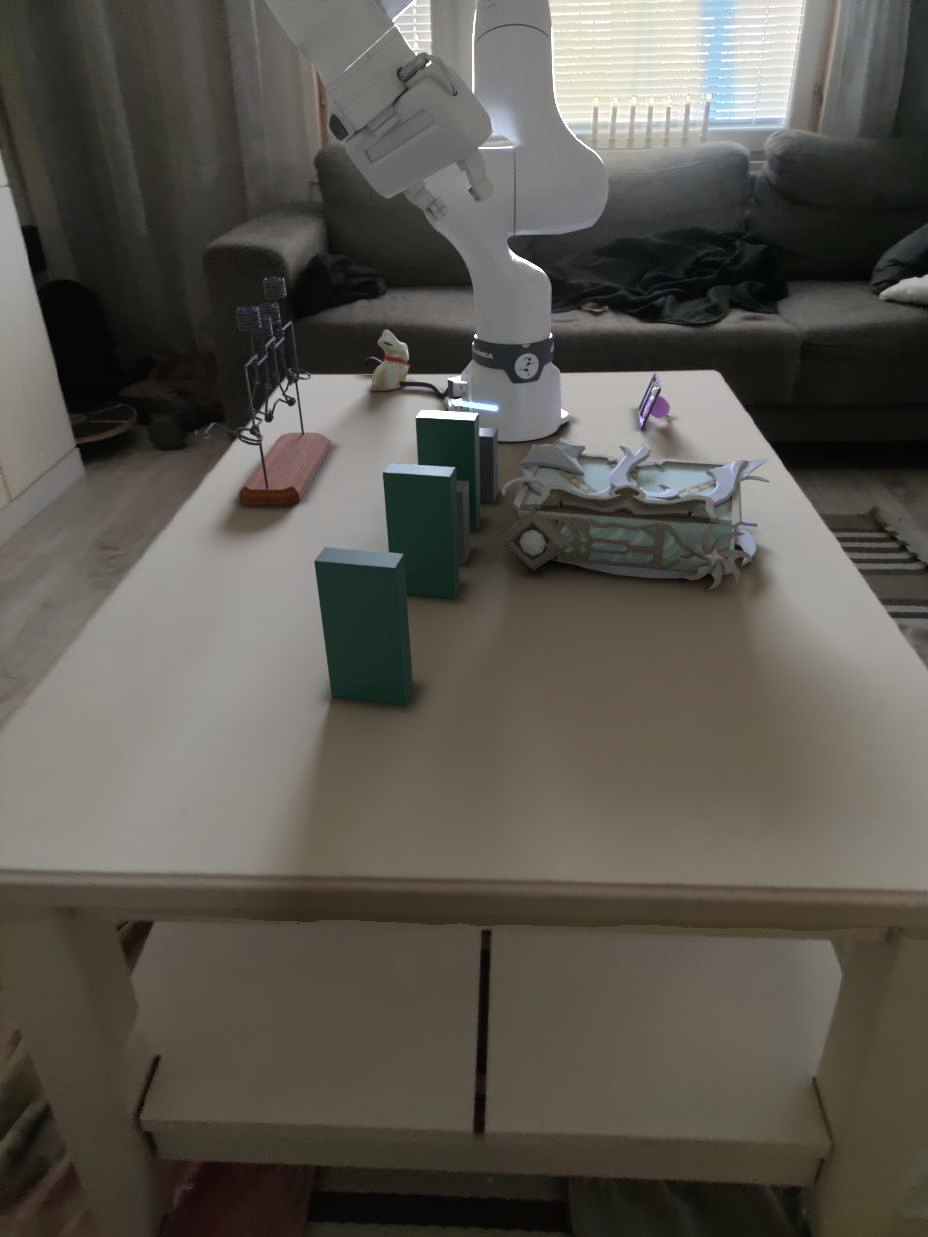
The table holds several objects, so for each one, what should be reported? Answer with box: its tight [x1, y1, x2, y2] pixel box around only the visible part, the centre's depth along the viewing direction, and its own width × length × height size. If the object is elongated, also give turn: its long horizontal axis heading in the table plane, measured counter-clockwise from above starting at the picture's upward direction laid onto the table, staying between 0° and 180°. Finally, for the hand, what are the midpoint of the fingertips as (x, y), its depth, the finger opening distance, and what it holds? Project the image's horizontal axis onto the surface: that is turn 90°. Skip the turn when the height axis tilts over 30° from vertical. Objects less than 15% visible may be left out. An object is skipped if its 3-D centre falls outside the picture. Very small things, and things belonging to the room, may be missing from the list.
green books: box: [313, 462, 461, 706], centre depth 85 cm, size 22×7×14 cm, turn 167°
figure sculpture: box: [194, 276, 331, 507], centre depth 117 cm, size 35×9×25 cm, turn 175°
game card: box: [637, 371, 671, 430], centre depth 139 cm, size 7×5×9 cm
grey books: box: [456, 428, 499, 565], centre depth 108 cm, size 20×8×9 cm, turn 167°
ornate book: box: [499, 437, 771, 591], centre depth 103 cm, size 23×10×30 cm
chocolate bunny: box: [370, 329, 411, 392], centre depth 156 cm, size 6×8×10 cm
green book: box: [415, 409, 482, 531], centre depth 107 cm, size 3×7×14 cm, turn 77°
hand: (463, 207), depth 93 cm, fingers open, 8 cm apart
